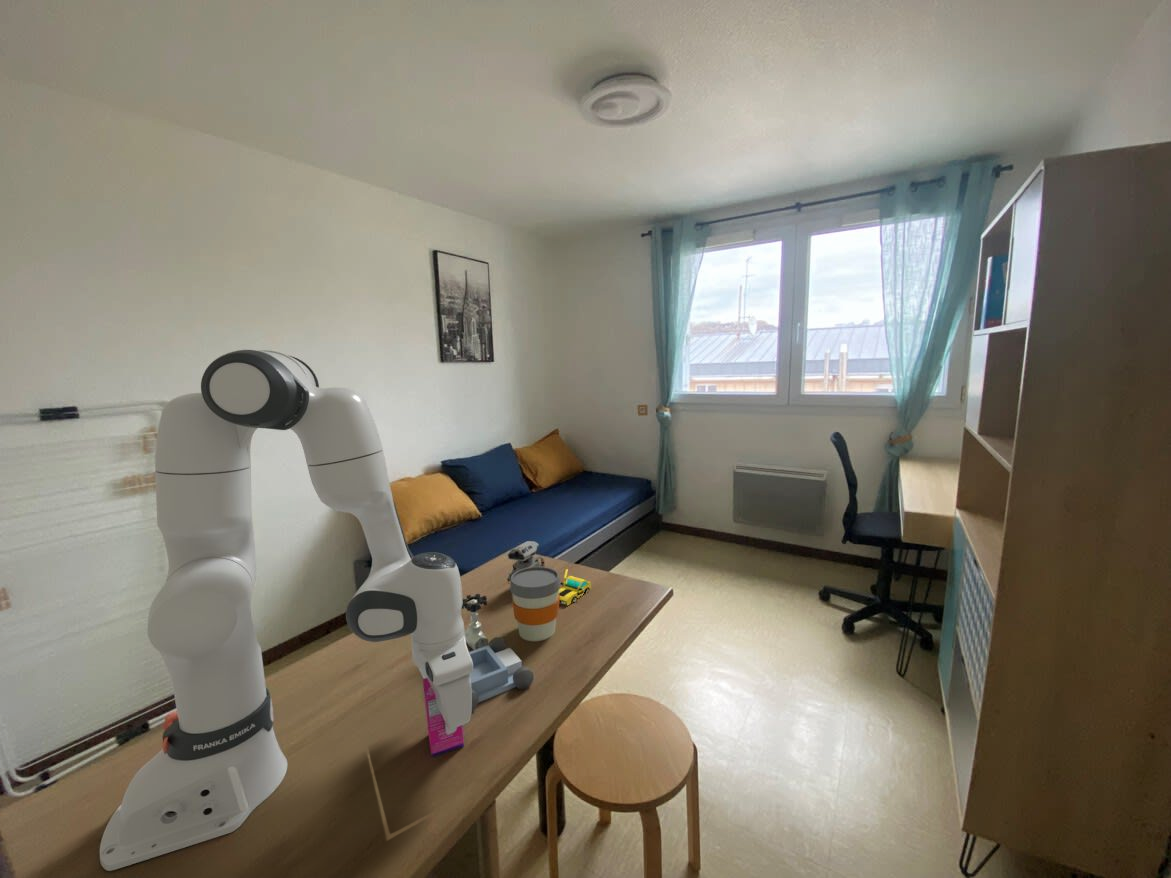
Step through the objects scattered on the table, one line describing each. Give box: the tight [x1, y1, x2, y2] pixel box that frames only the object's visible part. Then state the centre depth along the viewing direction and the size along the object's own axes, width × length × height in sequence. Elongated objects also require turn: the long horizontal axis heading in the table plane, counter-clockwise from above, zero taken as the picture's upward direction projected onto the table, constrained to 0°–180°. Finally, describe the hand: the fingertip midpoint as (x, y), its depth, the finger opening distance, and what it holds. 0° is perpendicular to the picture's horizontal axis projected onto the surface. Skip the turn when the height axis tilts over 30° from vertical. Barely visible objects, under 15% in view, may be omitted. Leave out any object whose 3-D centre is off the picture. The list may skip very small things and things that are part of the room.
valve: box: [461, 593, 489, 651], centre depth 112 cm, size 7×7×12 cm
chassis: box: [469, 636, 534, 712], centre depth 100 cm, size 16×15×4 cm
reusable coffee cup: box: [509, 566, 562, 642], centre depth 117 cm, size 13×13×15 cm
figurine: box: [506, 540, 546, 583], centre depth 139 cm, size 9×12×15 cm
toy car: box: [559, 568, 592, 606], centre depth 135 cm, size 12×8×8 cm, turn 145°
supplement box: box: [422, 678, 465, 757], centre depth 83 cm, size 6×6×12 cm
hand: (443, 717), depth 83 cm, fingers closed on supplement box, 6 cm apart
